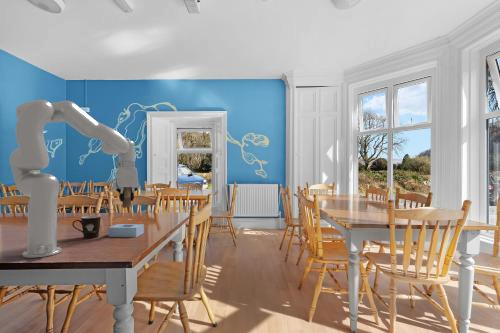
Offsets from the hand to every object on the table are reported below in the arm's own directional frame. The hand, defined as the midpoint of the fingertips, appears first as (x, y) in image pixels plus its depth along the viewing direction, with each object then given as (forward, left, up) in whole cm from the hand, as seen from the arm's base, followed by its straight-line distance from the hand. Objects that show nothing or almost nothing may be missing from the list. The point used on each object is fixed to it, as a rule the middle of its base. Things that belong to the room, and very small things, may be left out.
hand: (126, 200), depth 153 cm
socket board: (0, 0, -17) cm, 17 cm away
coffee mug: (+7, +16, -17) cm, 25 cm away
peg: (0, 0, -3) cm, 3 cm away
